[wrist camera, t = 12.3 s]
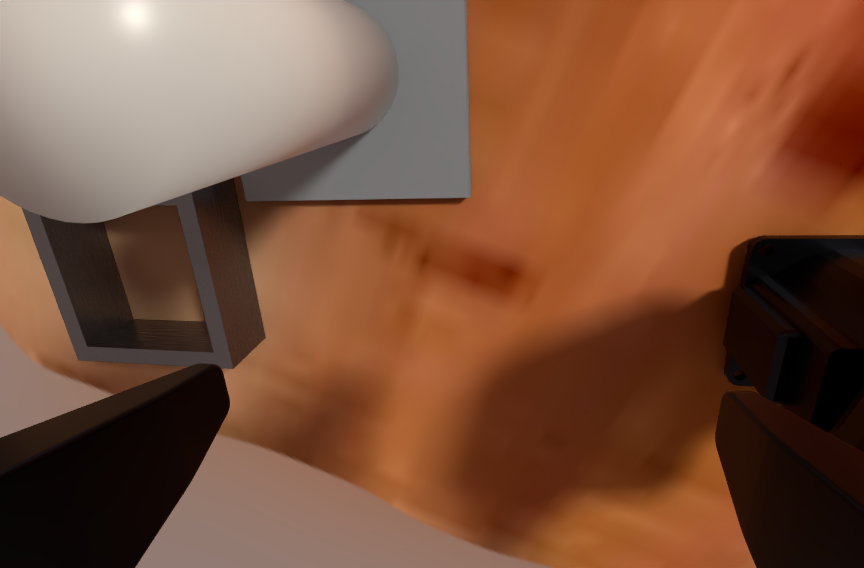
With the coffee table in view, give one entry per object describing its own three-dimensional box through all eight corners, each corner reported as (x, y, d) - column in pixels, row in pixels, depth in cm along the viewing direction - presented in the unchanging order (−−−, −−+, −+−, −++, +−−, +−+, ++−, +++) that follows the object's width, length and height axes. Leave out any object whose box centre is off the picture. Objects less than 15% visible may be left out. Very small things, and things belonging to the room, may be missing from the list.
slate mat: (463, -97, 17) (461, -103, 16) (471, 194, 20) (469, 197, 20) (202, -63, 19) (192, -67, 18) (252, 198, 22) (246, 201, 22)
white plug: (415, 29, 18) (205, -63, 6) (377, 154, 20) (164, 266, 8) (294, -19, 18) (-143, -203, 6) (269, 110, 20) (-99, 158, 8)
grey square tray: (231, 172, 22) (189, 184, 19) (265, 337, 25) (233, 368, 22) (74, 177, 24) (14, 189, 21) (124, 332, 27) (78, 360, 24)
